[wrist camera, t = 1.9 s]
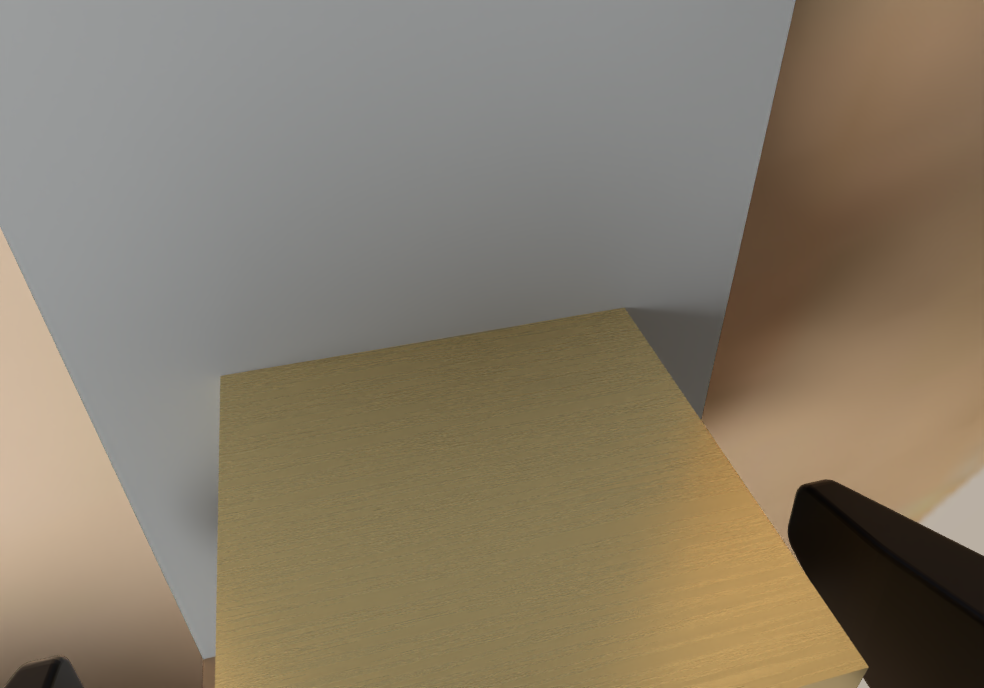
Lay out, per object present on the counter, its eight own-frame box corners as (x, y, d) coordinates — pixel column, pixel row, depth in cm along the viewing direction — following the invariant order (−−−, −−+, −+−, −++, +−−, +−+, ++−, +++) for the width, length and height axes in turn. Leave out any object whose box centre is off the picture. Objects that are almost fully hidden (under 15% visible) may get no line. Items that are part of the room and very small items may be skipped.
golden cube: (595, 547, 13) (744, 882, 9) (294, 616, 12) (323, 1024, 8) (624, 307, 10) (869, 667, 6) (221, 375, 9) (211, 855, 5)
